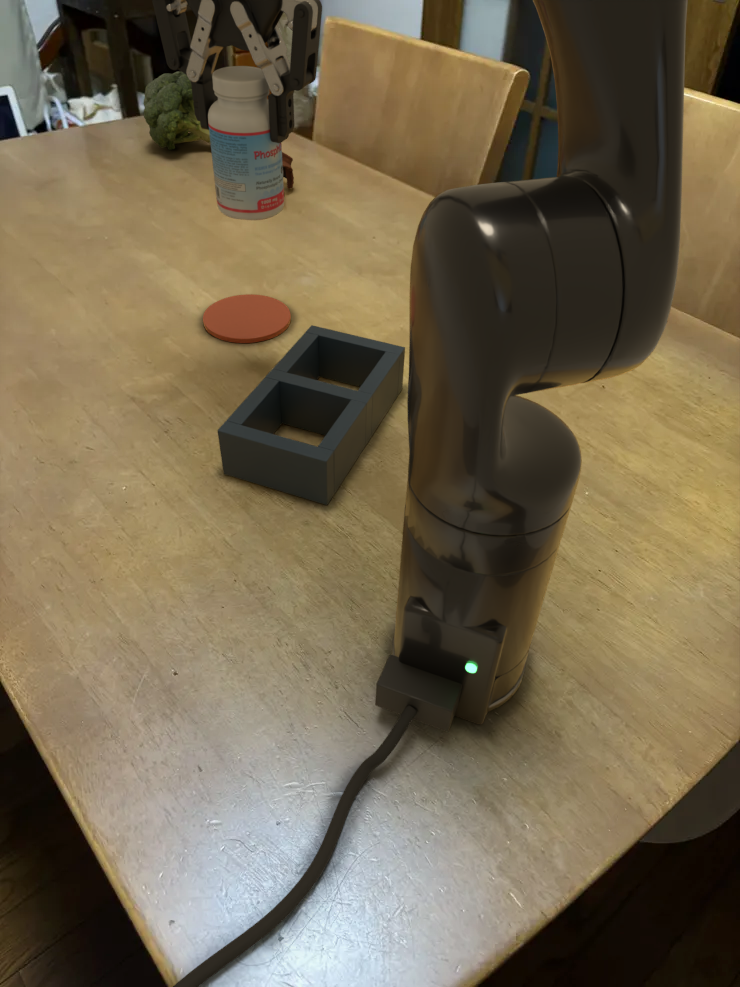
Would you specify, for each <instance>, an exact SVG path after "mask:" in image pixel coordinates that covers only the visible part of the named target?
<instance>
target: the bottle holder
mask: <svg viewBox="0 0 740 987" xmlns="http://www.w3.org/2000/svg"><path fill="white" fill-rule="evenodd" d="M405 355H406V347H405V346H402V345H397V344H393V343H389V342H385V341H380V340H376V339H372V338H368V337H364V336H359V335H355V334H351V333H346V332H342V331H338V330H334V329H330V328H325V327H322V326H317V325H313V324H311V325H310V326H309V328H307V329H306V331H305V332H304V333H303V334H302V336H301V337H300V338H299V339H298V340H297V341H296V342H295V343H294V344H293V345H292V346H291V347H290V349H289V350H288V351H287V352H286V353H285V354H284V355H283V356H282V357H281V359H279V361H278V362H277V363H276V364H275V365H274V367H272V368H271V370H270V371H269V372H267V374H266V375H265V376H264V378H263V379H262V380H261V381H260V382H259V383H258V384H257V386H256V387H254V389H253V390H252V391H251V392H250V393H249V394H248V395H247V397H246V398H245V399H243V401H242V402H241V403H240V404H239V406H238V407H237V408H236V409H235V410H234V411H233V412H232V413H231V414H230V416H229V417H228V418H227V419H226V420H225V421H224V422H223V424H221V425H220V427H219V428H218V429H217V436H218V438H217V439H218V446H219V453H220V460H221V465H222V473H223V475H226V476H230V477H233V478H235V479H240V480H242V481H246V482H248V483H249V482H250V483H252V484H256V485H260V486H262V487H266V488H269V489H272V490H276V491H278V492H282V493H286V494H289V495H292V496H296V497H299V498H302V499H305V500H309V501H312V502H315V503H318V504H321V505H325V506H328V505H329V503H330V501H331V500H332V498H333V497H334V495H335V494H336V492H337V491H338V489H339V488H340V486H341V484H342V483H343V482H344V481H345V479H346V477H347V475H348V474H349V472H350V470H352V468H353V467H354V464H355V463H356V462H357V460H358V458H359V457H360V455H361V454H362V452H363V450H364V449H365V447H366V446H367V444H368V443H369V442H370V440H371V438H372V437H373V435H374V433H375V432H376V431H377V429H378V427H379V425H380V424H381V423H382V421H383V420H384V418H385V416H386V415H387V413H388V412H389V410H390V409H391V407H392V406H393V405H394V403H395V401H396V400H397V398H398V396H399V395H400V394H401V392H402V390H403V387H404V386H403V385H404V384H403V383H404V372H405V371H404V370H405V368H404V367H405ZM319 378H324V379H328V380H331V381H335V382H339V383H343V384H347V385H350V386H355V387H357V388H358V390H356V389H352V388H348V387H344V386H340V385H337V384H333V383H329V382H326V381H321V380H318V379H319ZM282 424H283V425H287V426H290V427H294V428H298V429H301V430H305V431H309V432H311V433H315V434H319V435H323V436H324V437H323V438H322V440H321V441H320V443H319V444H318V445H313V444H310V443H306V442H302V441H299V440H296V439H293V438H289V437H284V436H281V435H277V434H275V433H276V431H277V430H278V429H279V428H280V426H281V425H282Z"/></svg>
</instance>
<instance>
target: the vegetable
mask: <svg viewBox="0 0 740 987" xmlns="http://www.w3.org/2000/svg"><path fill="white" fill-rule="evenodd" d="M193 102H194V101H193V95H192V87H191V81H190V80H189V78H188V77H187V75H186V74H184V73H183V72H181V71H179V70H176V71H175V72H173V73H169V72H168V73H163V74H161V75H159V76H158V77H157V78H154V80H152V81H151V82H148V84H146V86H145V90H144V99H143V106H144V109H143V118H144V120H145V123H146V124H147V125H148V127H149V132H148V133H149V137H150V139H151V140H152V141H153V142H154V143H155V144H157V146H158V147H159V148H163V149H164V148H167V150H169V151H170V150H175V149H176V146H175V145H176V144H182V143H190V142H196V141H204V142H206V143H209V144H211V143H210V134H209V130H206V129H202V128H201V125H200V121H197V118H196V116H195V112H194V104H193Z"/></svg>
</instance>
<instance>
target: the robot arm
mask: <svg viewBox="0 0 740 987" xmlns="http://www.w3.org/2000/svg"><path fill="white" fill-rule="evenodd" d="M151 2H152V6H153V10H154V14H155V19H156V24H157V27H158V31H159V36H160V40H161V44H162V49H163V52H164V57H165V61H166V65H167V66H168V68H169V69H170V70H172V71H178V72H183V73H184V74H186V75H187V77H188V78H189V80H190V81H191V87H192V95H193V101H194V102H193V104H194V112H195V116H196V118H197V121H200V125H201V128H202V129H206V130H209V124H208V112H209V109H210V107H211V105H212V104H213V103H214V102H215V101H217V100H218V97H217V96H216V95H215V93H214V92H215V91H214V90H213V79H212V74H213V72H214V71H215V70H216V65H217V64H218V63H217V62H218V59H219V57H220V53H221V52H222V50H223V49H224V48H227V47H231V46H233V47H234V48H237V49H238V50H241V51H247V52H249V53H250V56H251V58H252V60H253V63H254V64H255V66H256V68H260V69H261V70H262V72H263V75H264V77H265V79H266V82H267V84H268V86H269V88H270V90H269V92H271V93H269V95H268V96H267V100H268V105H269V123H270V139H271V141H272V142H275V143H281V144H282V143H283V142H285V141H286V140H287V139H288V138H289V137H290V134H291V133H293V132H294V129H295V101H294V100H295V99H294V98H295V97H294V93H295V91H296V92H298V91H301V90H303V89H304V88H305V87H307V86H308V85H311V84H312V83H314V82H315V81H316V78H317V71H318V70H317V69H318V61H319V60H318V59H319V47H320V38H321V37H320V36H321V25H322V16H323V15H322V14H323V5H322V2H321V0H151ZM532 2H533V4H534V7H535V8H536V12H537V14H538V18H539V20H540V23H541V26H542V29H543V33H544V36H545V40H546V44H547V47H548V50H549V51H548V52H549V55H550V60H551V66H552V71H553V78H554V86H555V88H554V89H555V98H556V99H555V100H556V111H557V113H556V114H557V148H558V149H557V168H556V169H557V170H556V176H553V177H552V176H551V177H542V178H532V179H531V178H530V179H521V180H514V181H513V180H512V181H511V180H510V181H501V182H500V181H499V182H491V183H480V184H471V185H465V186H458V187H454V188H450V189H446V190H443V191H442V192H440V193H438V194H436V196H434V198H432V200H431V201H430V202H429V203H428V205H427V207H426V208H425V210H424V211H423V213H422V215H421V218H420V221H419V223H418V225H417V229H416V233H415V235H414V236H415V237H414V240H413V245H412V253H411V260H410V273H409V318H408V319H409V320H408V321H409V322H408V323H409V324H408V325H409V326H408V327H409V329H408V330H409V333H408V334H409V335H408V336H409V338H408V340H409V344H408V345H409V349H408V351H409V352H408V380H407V381H408V383H407V397H406V398H407V400H406V401H407V402H406V404H407V407H406V408H407V410H406V411H407V432H408V453H409V454H408V466H407V480H406V494H405V505H404V515H403V525H402V538H401V550H400V561H399V575H398V585H397V586H398V587H397V599H396V609H395V622H394V624H395V625H394V633H393V638H392V643H391V654H390V653H389V656H388V657H387V660H386V663H385V664H384V667H383V669H382V670H381V673H380V675H379V678H378V680H377V682H376V686H375V704H374V705H375V706H376V707H378V708H380V709H381V708H382V709H384V710H387V711H389V712H392V713H394V714H397V715H399V717H398V719H397V720H396V721H395V723H394V724H393V726H392V728H391V729H390V731H389V733H388V734H387V736H386V737H385V739H384V740H383V741H382V742H381V744H380V745H379V746H378V747H377V749H376V750H375V751H374V752H373V753H372V754H370V755H369V756H368V757H367V758H366V759H364V760H363V761H362V762H361V763H360V765H359V766H358V767H357V769H356V770H355V771H354V773H353V775H352V776H351V778H350V779H349V781H348V783H347V785H346V786H345V788H344V790H343V792H342V794H341V796H340V798H339V801H338V803H337V805H336V807H335V811H334V812H333V815H332V817H331V820H330V823H329V825H328V828H327V830H326V833H325V835H324V837H323V840H322V841H321V844H320V846H319V848H318V851H317V852H316V854H315V856H314V858H313V860H312V861H311V863H310V865H309V866H308V868H307V869H306V870H305V872H304V873H303V874H302V876H301V877H300V879H299V880H298V881H297V882H296V883H295V885H294V886H293V887H292V888H291V889H290V891H289V892H288V893H287V894H286V895H285V896H284V897H283V898H282V899H281V900H280V901H279V902H278V903H277V904H276V905H275V906H274V907H273V908H272V909H271V910H270V911H269V912H268V913H266V914H265V915H264V916H263V917H261V919H259V920H258V921H257V922H255V923H254V924H253V925H251V926H250V927H249V928H248V929H246V930H244V932H242V933H241V934H240V935H238V936H237V937H236V938H234V939H232V941H229V943H227V944H226V945H224V946H223V947H221V949H219V950H218V951H216V952H215V953H213V954H211V955H210V956H209V957H208V958H207V959H205V960H204V961H203V962H200V964H199V965H197V966H196V967H195V968H193V969H192V970H191V971H190V972H188V974H186V975H185V976H183V977H182V978H181V979H180V980H179V981H177V982H176V983H175V984H174V985H172V987H201V985H203V984H204V983H205V982H207V981H208V980H209V979H211V978H212V977H213V976H214V975H215V974H217V973H218V972H220V971H221V970H222V969H224V968H225V967H226V966H228V965H229V964H230V963H232V962H234V961H235V960H236V959H238V958H239V957H240V956H242V955H243V954H244V953H245V952H247V951H249V950H250V949H251V948H252V947H253V946H255V945H257V943H259V942H260V941H261V940H263V939H264V938H265V937H266V936H267V935H268V934H270V933H271V932H273V930H275V929H276V928H277V927H278V926H279V925H280V924H281V923H283V922H284V920H285V919H287V918H288V916H289V915H290V914H292V912H293V911H294V910H295V909H296V908H297V907H298V905H300V904H301V902H302V901H303V900H304V899H305V897H306V896H307V895H308V894H309V893H310V891H311V890H312V889H313V887H315V885H316V883H317V882H318V880H319V878H320V877H321V875H322V874H323V872H324V870H326V867H327V865H328V863H329V861H330V860H331V857H332V854H333V853H334V850H335V848H336V846H337V844H338V841H339V838H340V836H341V833H342V830H343V827H344V825H345V823H346V819H347V817H348V814H349V812H350V810H351V807H352V805H353V803H354V801H355V799H356V797H357V795H358V793H359V792H360V789H361V788H362V787H363V785H364V783H365V782H366V780H368V777H369V776H370V775H371V773H373V771H374V770H375V769H376V768H378V767H380V766H381V764H383V763H385V761H386V760H387V758H389V756H390V755H391V754H392V752H393V751H394V750H395V748H396V747H397V746H398V744H399V743H400V741H401V739H402V738H403V736H404V735H405V733H406V732H407V729H409V727H410V725H411V724H412V722H413V721H417V722H418V723H421V724H424V725H428V726H430V727H433V728H435V729H438V730H441V731H443V732H446V733H449V732H450V729H451V726H452V723H453V721H454V718H455V717H457V718H460V719H463V720H465V721H467V722H469V723H474V724H476V725H482V724H483V723H484V722H485V719H486V716H487V714H488V712H491V711H493V710H496V709H498V708H499V707H501V706H503V705H504V704H505V703H507V702H508V701H509V700H511V699H512V697H513V696H514V695H515V694H516V692H517V691H518V689H519V688H520V686H521V684H522V680H523V678H524V675H525V672H526V671H525V670H526V664H527V659H528V655H529V653H530V649H531V646H532V641H533V637H534V634H535V631H536V628H537V624H538V620H539V618H540V613H541V611H542V607H543V603H544V599H545V596H546V593H547V589H548V586H549V583H550V579H551V576H552V572H553V569H554V566H555V562H556V559H557V555H558V552H559V548H560V545H561V542H562V538H563V536H564V533H565V529H566V525H567V522H568V518H569V515H570V511H571V508H572V505H573V501H574V499H575V495H576V490H577V488H578V484H579V482H580V476H581V472H582V465H583V464H582V463H583V460H582V459H583V458H582V450H581V446H580V443H579V441H578V439H577V437H576V435H575V434H574V432H573V431H572V429H571V428H570V427H569V426H568V425H567V423H566V422H565V421H564V420H563V419H562V418H560V416H558V415H557V414H556V413H554V412H553V411H552V410H550V409H548V408H547V407H545V406H543V405H541V404H539V403H537V402H536V401H534V400H531V399H530V398H526V397H524V396H520V395H524V394H530V393H535V392H543V391H548V390H552V389H558V388H564V387H569V386H577V385H579V384H587V383H592V382H597V381H602V380H607V379H612V378H616V377H618V376H622V375H624V374H626V373H629V372H631V371H633V370H635V369H637V368H638V367H640V366H641V365H643V364H644V363H645V361H646V360H648V358H649V357H650V356H651V354H652V353H653V352H654V351H655V349H656V348H657V346H658V344H659V342H660V340H661V338H662V336H663V334H664V332H665V330H666V327H667V324H668V320H669V317H670V313H671V308H672V305H673V300H674V296H675V289H676V285H677V280H678V279H677V278H678V270H679V261H680V245H681V229H682V228H681V226H682V225H681V223H682V201H683V200H682V199H683V198H682V196H683V160H684V159H683V156H684V155H683V154H684V152H683V151H684V115H685V114H684V112H685V109H684V108H685V106H684V105H685V70H686V69H685V68H686V66H685V64H686V39H687V38H686V36H687V35H686V32H687V17H688V16H687V15H688V14H687V13H688V0H532ZM188 6H189V8H190V10H191V11H192V13H193V15H194V16H195V18H196V24H195V28H194V31H193V35H192V37H191V32H190V27H189V22H188V18H187V14H186V11H187V8H188ZM283 14H285V16H286V18H287V27H288V28H289V29H290V31H292V33H291V48H290V60H289V58H288V48H287V45H286V42H285V40H284V38H283V34H282V33H281V30H280V28H279V25H278V23H279V22H280V20H281V18H282V16H283ZM266 44H267V46H266Z"/></svg>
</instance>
